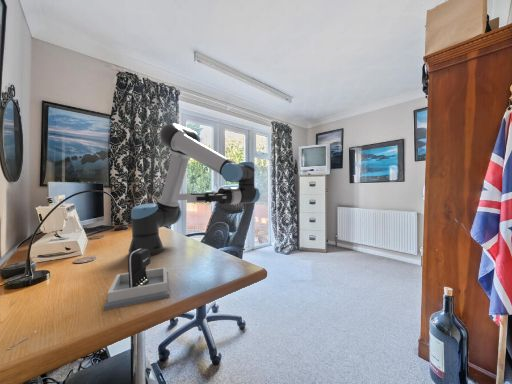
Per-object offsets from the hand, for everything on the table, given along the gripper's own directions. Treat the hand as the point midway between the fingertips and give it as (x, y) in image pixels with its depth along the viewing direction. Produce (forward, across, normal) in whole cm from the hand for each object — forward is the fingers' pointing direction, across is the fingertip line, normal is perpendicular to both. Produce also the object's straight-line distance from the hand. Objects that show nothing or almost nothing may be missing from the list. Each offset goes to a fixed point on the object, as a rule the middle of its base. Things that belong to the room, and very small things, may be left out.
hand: (180, 198), depth 85 cm
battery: (+16, -10, -27) cm, 33 cm away
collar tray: (+16, -9, -28) cm, 33 cm away
